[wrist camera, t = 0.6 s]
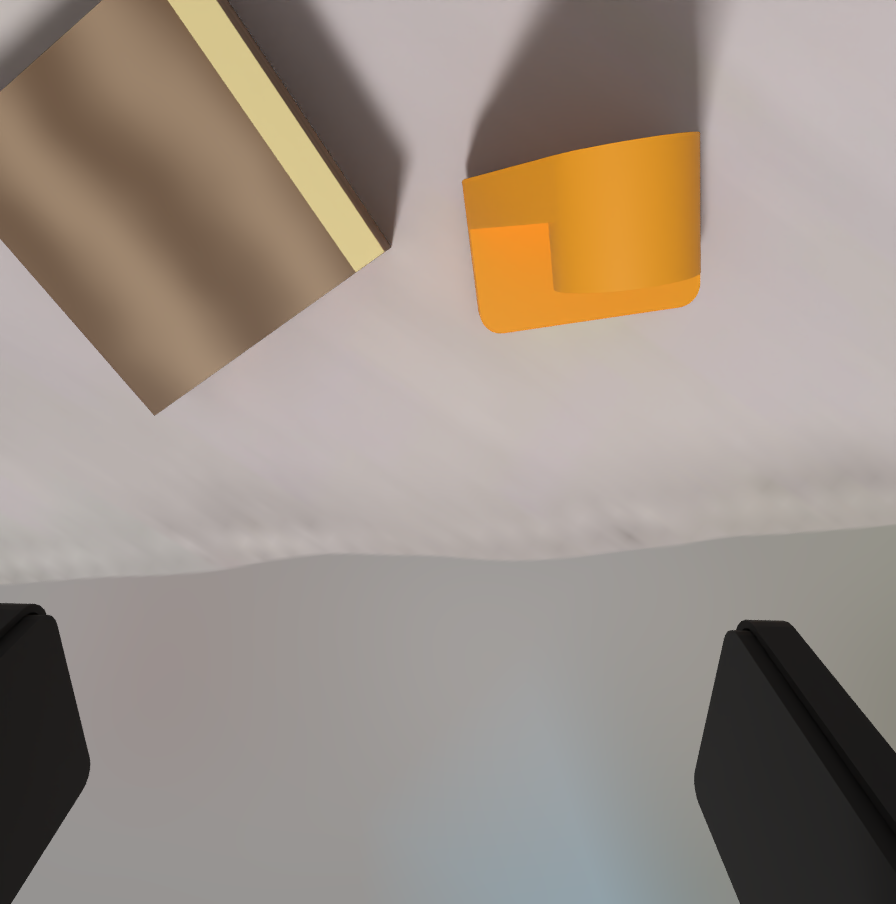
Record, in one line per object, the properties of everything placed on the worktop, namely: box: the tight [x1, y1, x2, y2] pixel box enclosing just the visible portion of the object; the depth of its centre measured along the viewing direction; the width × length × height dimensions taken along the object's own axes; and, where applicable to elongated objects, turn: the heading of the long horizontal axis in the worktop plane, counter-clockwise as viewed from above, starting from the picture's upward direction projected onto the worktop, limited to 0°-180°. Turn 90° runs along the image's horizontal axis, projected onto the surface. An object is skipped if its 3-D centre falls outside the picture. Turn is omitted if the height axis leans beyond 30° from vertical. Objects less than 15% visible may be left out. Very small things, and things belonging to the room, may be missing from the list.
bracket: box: [462, 132, 701, 333], centre depth 27 cm, size 11×7×12 cm, turn 98°
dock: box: [0, 0, 391, 416], centre depth 30 cm, size 14×14×4 cm
